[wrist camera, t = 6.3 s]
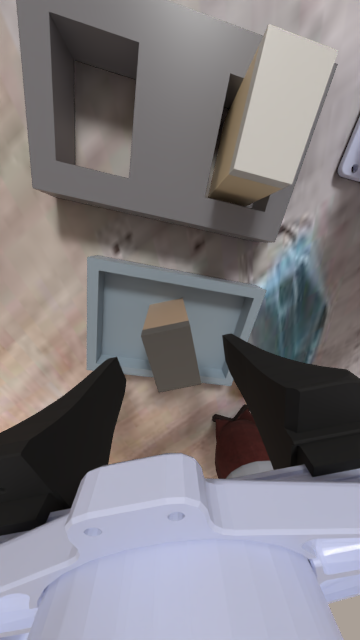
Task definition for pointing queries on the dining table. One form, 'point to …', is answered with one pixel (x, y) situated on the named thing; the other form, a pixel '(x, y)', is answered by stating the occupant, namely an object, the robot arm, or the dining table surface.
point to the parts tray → (154, 287)
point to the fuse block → (143, 107)
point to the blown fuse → (170, 346)
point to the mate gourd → (239, 446)
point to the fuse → (271, 117)
